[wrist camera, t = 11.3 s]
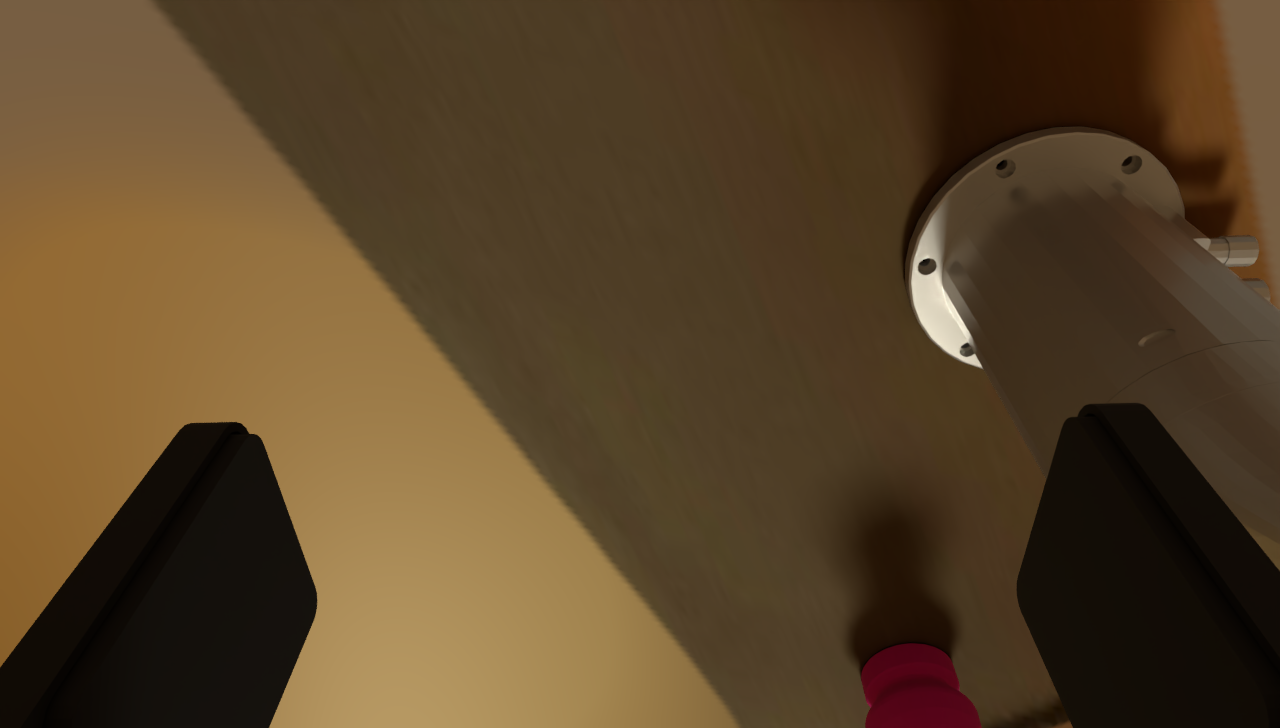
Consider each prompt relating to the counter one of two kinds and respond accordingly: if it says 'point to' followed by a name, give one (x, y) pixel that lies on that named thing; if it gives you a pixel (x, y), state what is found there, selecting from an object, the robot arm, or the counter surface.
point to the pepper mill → (915, 690)
